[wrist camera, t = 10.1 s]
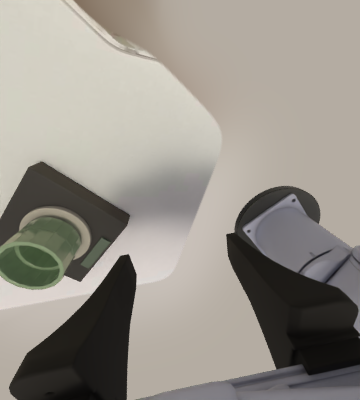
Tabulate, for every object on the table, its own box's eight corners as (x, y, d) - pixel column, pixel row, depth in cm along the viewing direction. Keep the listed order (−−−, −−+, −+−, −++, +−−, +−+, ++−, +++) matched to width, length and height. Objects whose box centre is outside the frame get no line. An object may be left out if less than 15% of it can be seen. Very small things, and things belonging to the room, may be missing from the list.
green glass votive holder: (92, 237, 21) (77, 267, 17) (61, 264, 22) (39, 297, 18) (47, 204, 19) (17, 230, 15) (15, 236, 20) (-21, 267, 16)
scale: (130, 215, 23) (126, 228, 21) (86, 269, 26) (78, 285, 24) (41, 161, 20) (24, 168, 17) (1, 231, 23) (-18, 246, 20)
